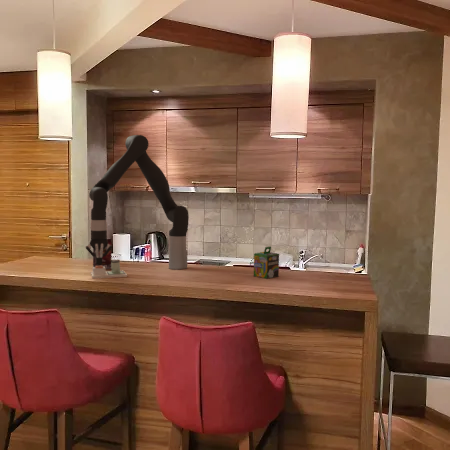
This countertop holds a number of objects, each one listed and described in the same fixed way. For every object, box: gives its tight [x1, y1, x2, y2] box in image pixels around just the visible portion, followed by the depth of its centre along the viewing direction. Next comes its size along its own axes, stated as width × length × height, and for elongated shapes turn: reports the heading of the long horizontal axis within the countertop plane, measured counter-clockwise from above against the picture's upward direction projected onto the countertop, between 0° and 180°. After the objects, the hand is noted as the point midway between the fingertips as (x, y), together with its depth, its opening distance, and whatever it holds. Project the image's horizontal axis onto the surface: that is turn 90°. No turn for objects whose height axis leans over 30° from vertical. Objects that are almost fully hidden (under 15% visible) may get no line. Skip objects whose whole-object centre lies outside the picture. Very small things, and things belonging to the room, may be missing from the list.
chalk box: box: [253, 246, 280, 280], centre depth 237 cm, size 9×9×15 cm
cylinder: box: [110, 259, 121, 273], centre depth 235 cm, size 4×4×6 cm
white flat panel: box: [90, 269, 128, 279], centre depth 234 cm, size 16×12×1 cm
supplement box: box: [92, 237, 112, 270], centre depth 251 cm, size 9×5×16 cm, turn 143°
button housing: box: [92, 266, 107, 275], centre depth 232 cm, size 6×6×3 cm
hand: (99, 265), depth 232 cm, fingers closed
